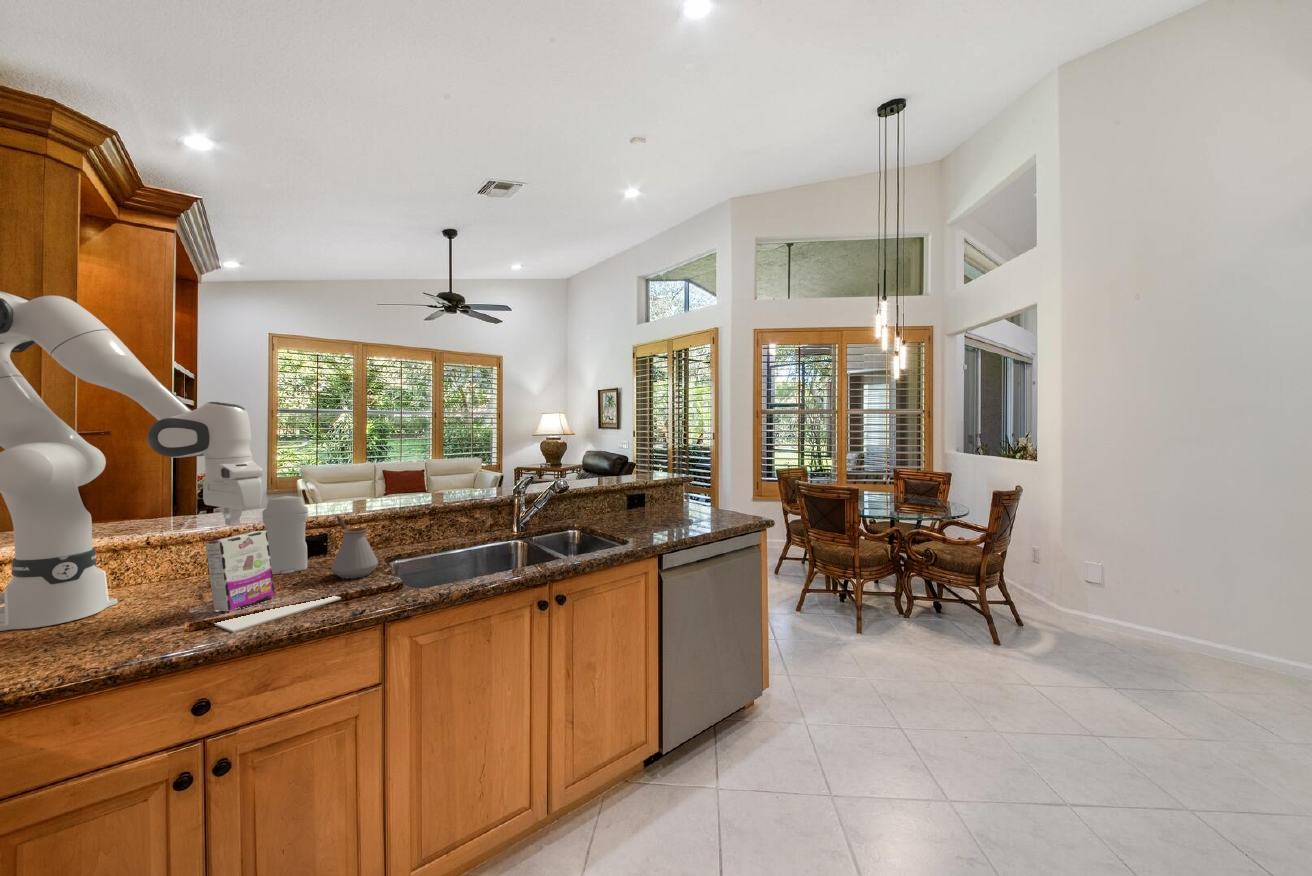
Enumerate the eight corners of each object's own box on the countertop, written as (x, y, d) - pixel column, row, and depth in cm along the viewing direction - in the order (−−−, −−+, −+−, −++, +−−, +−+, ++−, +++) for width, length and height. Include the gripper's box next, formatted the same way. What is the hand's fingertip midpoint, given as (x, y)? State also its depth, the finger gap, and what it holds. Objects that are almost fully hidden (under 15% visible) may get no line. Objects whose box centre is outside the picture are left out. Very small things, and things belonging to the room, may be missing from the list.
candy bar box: (259, 596, 126) (252, 531, 125) (275, 595, 125) (268, 530, 124) (211, 613, 115) (203, 541, 114) (229, 612, 114) (221, 540, 113)
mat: (203, 620, 110) (203, 618, 110) (310, 590, 130) (310, 589, 130) (233, 632, 104) (233, 630, 104) (340, 599, 124) (340, 597, 124)
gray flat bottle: (308, 566, 151) (306, 493, 150) (309, 569, 148) (308, 495, 147) (263, 573, 144) (261, 497, 143) (264, 577, 141) (262, 498, 140)
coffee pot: (384, 574, 144) (383, 522, 143) (338, 583, 135) (337, 528, 135) (358, 559, 158) (358, 512, 158) (316, 567, 150) (315, 517, 149)
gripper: (193, 468, 124) (196, 524, 125) (235, 472, 115) (238, 532, 115) (224, 466, 130) (227, 519, 130) (266, 469, 120) (269, 526, 121)
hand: (232, 525), depth 123 cm, fingers closed
